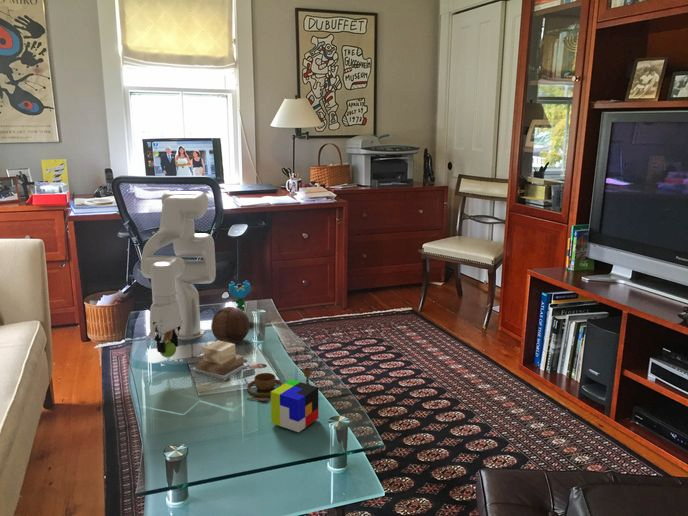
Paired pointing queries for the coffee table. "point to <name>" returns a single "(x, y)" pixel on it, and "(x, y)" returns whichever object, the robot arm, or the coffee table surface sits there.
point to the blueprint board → (223, 375)
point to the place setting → (269, 384)
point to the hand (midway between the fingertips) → (167, 348)
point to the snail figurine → (168, 345)
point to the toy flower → (239, 292)
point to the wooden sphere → (230, 325)
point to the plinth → (220, 367)
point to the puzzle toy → (294, 405)
